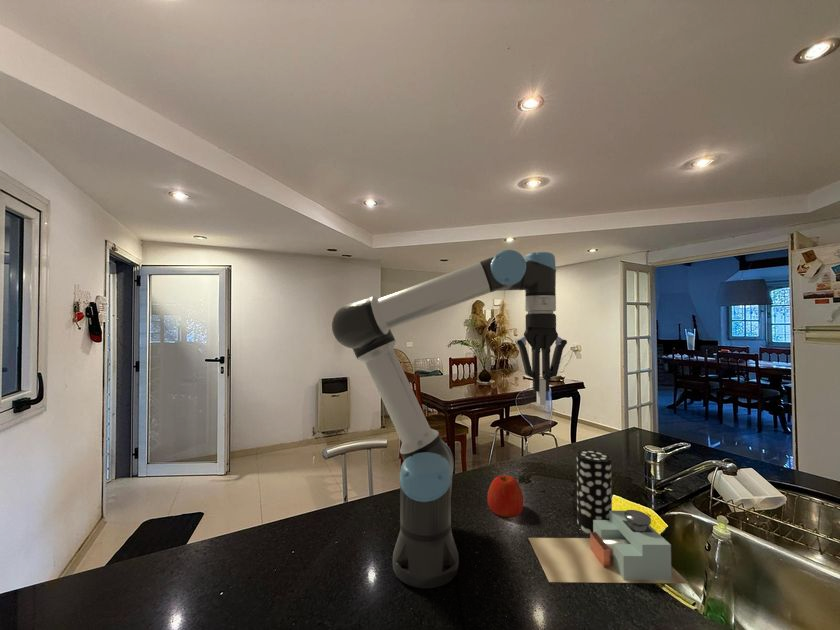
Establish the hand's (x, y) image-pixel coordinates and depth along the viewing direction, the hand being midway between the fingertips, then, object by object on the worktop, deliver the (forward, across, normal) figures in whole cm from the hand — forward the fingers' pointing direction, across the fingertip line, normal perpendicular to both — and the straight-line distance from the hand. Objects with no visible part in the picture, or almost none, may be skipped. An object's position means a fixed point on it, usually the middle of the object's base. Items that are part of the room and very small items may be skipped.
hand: (541, 403), depth 91 cm
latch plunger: (+29, +19, -9) cm, 36 cm away
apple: (+35, -7, +12) cm, 37 cm away
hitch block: (+33, +17, -9) cm, 39 cm away
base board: (+34, +10, -9) cm, 37 cm away
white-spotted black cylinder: (+35, +15, +3) cm, 38 cm away
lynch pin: (+33, +16, -9) cm, 38 cm away
